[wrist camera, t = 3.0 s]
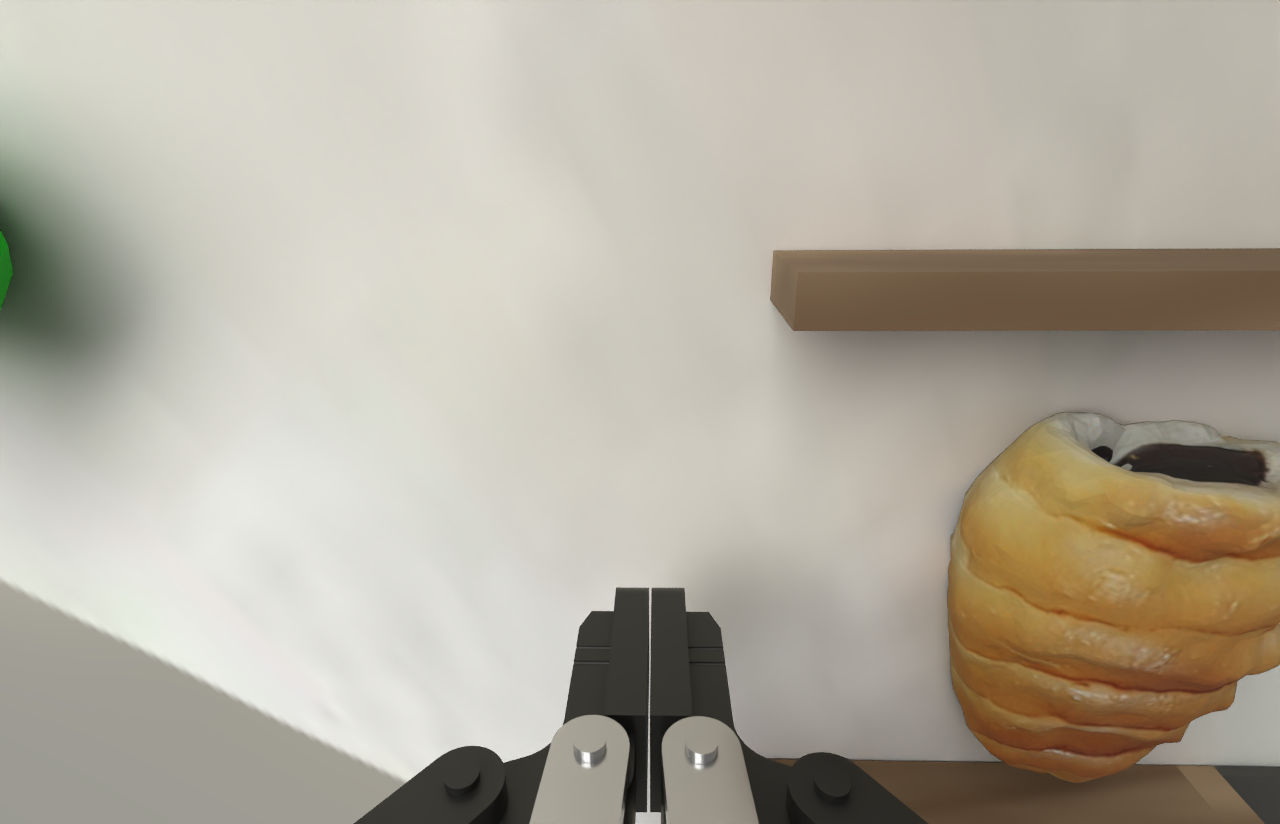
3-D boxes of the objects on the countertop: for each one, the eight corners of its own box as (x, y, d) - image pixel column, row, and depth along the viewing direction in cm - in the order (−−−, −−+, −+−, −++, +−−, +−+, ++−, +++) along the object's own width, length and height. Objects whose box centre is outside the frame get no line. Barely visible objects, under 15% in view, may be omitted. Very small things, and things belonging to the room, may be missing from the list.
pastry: (1132, 730, 18) (1247, 871, 15) (886, 713, 18) (940, 850, 15) (1273, 412, 15) (1468, 496, 11) (968, 393, 15) (1066, 470, 11)
